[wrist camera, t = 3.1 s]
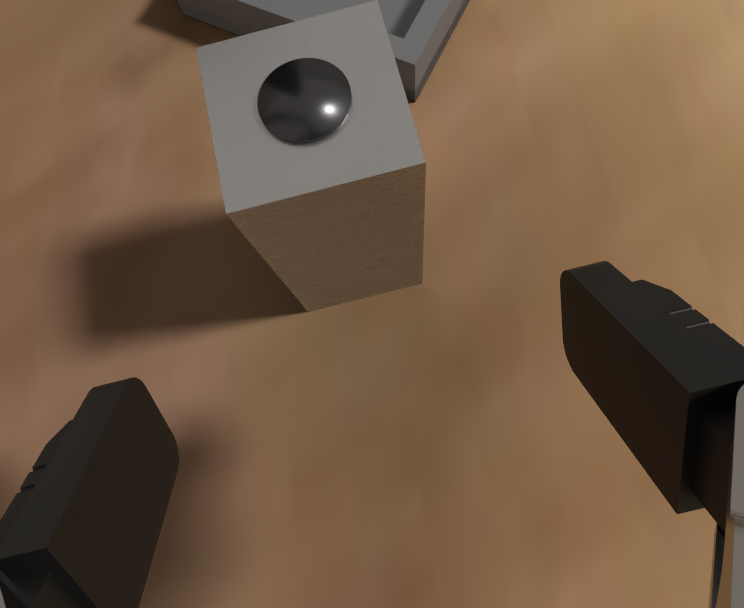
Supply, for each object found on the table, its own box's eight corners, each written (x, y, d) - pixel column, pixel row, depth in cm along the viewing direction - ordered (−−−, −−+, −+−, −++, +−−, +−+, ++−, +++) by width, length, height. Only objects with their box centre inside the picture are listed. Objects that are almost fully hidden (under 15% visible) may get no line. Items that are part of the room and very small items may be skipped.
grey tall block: (308, 311, 22) (223, 211, 13) (285, 207, 24) (194, 43, 14) (422, 282, 22) (426, 159, 13) (393, 179, 24) (376, -5, 14)
